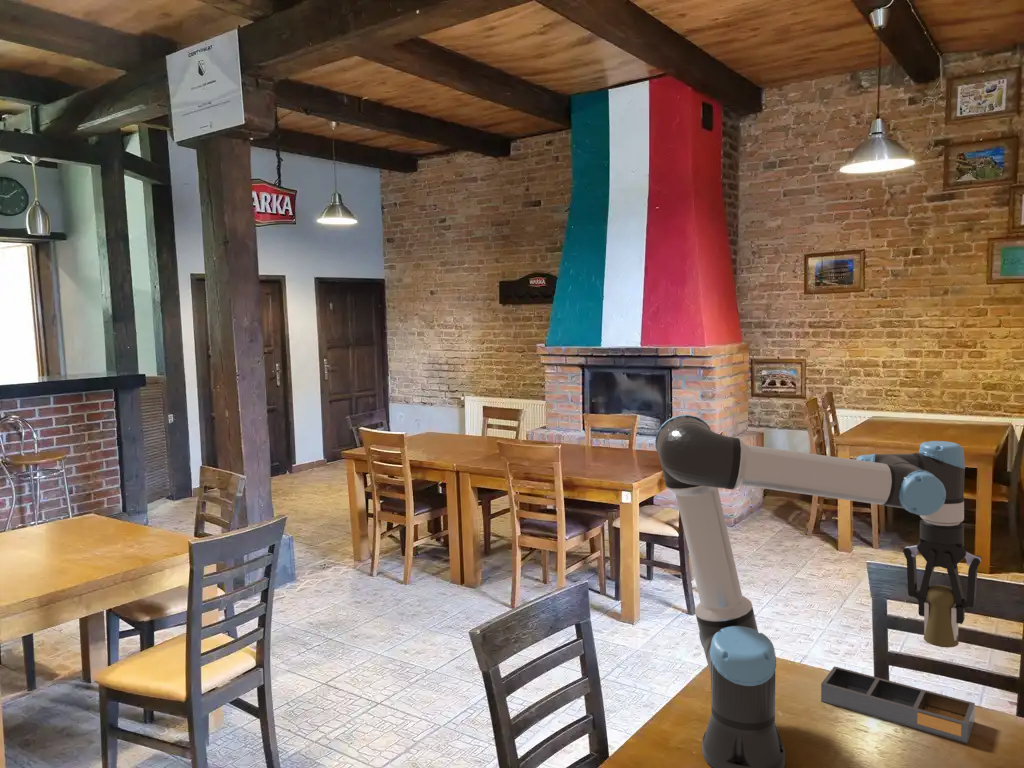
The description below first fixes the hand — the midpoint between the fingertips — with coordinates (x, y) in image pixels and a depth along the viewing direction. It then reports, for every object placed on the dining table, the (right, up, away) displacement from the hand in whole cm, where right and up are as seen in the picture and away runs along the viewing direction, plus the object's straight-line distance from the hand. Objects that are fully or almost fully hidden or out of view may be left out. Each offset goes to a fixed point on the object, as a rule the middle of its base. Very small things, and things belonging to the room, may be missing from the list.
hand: (941, 634), depth 147 cm
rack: (-5, -19, +8) cm, 21 cm away
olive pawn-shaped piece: (0, -1, 0) cm, 1 cm away
